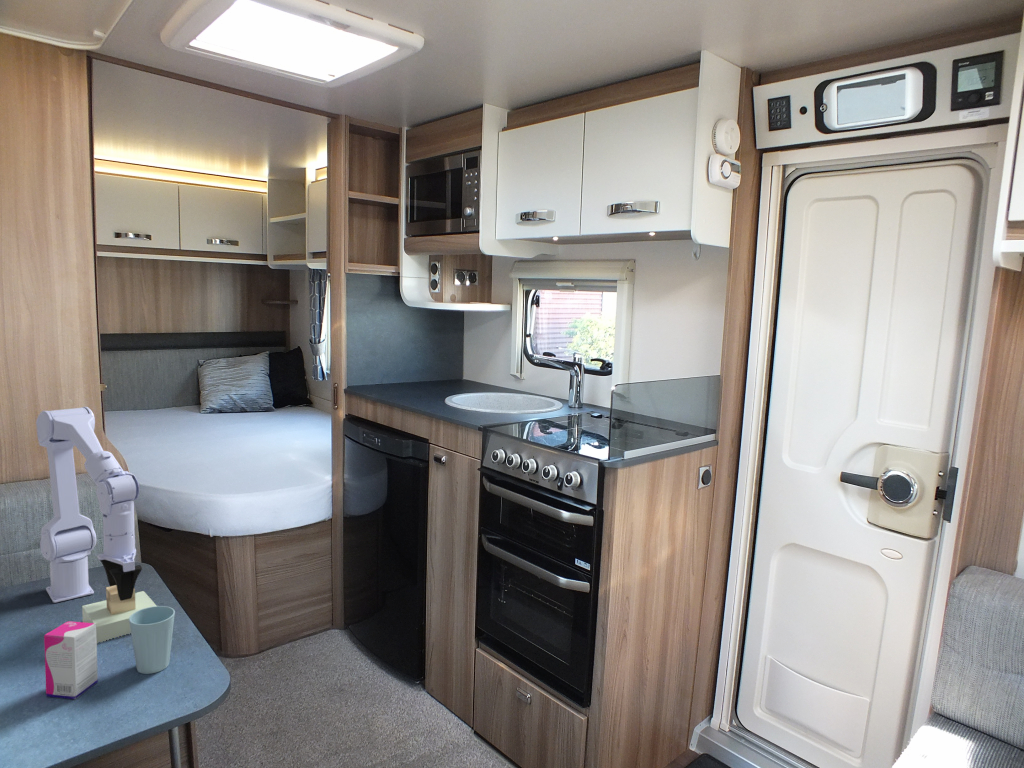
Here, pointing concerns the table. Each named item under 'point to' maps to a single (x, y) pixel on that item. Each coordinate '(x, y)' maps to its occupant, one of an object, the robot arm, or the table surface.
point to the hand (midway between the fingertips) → (120, 592)
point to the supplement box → (70, 659)
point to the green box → (113, 617)
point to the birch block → (118, 601)
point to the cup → (152, 637)
